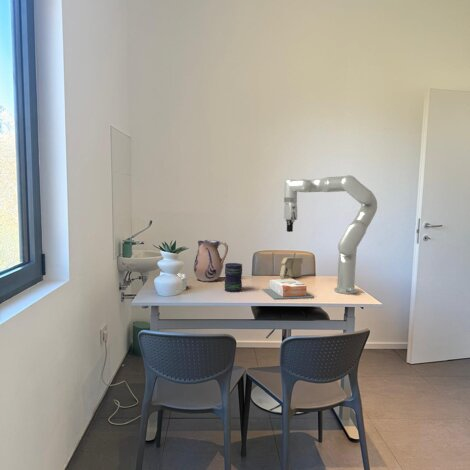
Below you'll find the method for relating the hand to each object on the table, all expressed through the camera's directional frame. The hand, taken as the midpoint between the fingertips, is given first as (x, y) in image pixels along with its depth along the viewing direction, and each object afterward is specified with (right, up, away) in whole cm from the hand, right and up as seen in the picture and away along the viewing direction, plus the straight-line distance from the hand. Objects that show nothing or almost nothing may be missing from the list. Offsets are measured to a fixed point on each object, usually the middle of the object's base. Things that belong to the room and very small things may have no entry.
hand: (289, 231), depth 246 cm
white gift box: (-65, -33, -12) cm, 74 cm away
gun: (+5, -31, +27) cm, 41 cm away
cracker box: (-6, -30, -6) cm, 31 cm away
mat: (-4, -35, -17) cm, 39 cm away
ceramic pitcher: (-48, -31, +14) cm, 59 cm away
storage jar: (-34, -34, -12) cm, 49 cm away
